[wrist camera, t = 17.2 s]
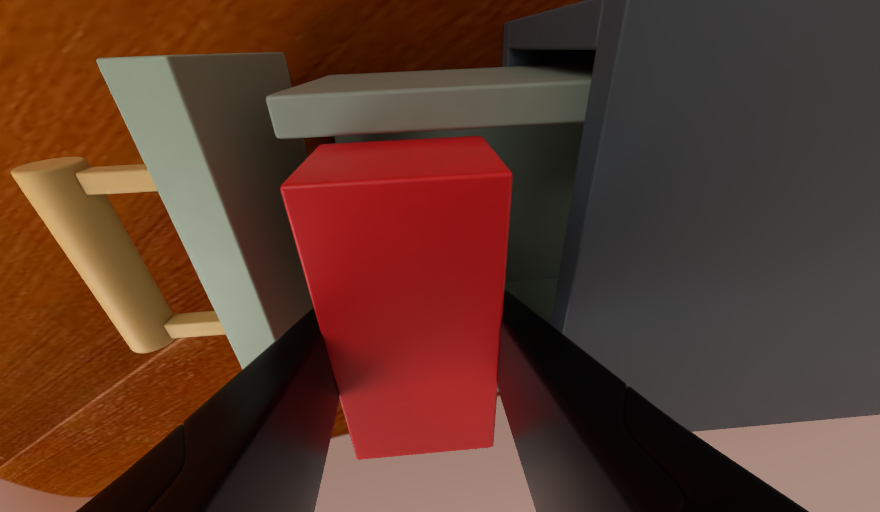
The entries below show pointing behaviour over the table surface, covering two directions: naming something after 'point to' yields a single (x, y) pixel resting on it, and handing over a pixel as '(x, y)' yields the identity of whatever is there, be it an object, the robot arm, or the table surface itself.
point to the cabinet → (724, 202)
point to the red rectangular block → (407, 285)
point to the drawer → (274, 160)
